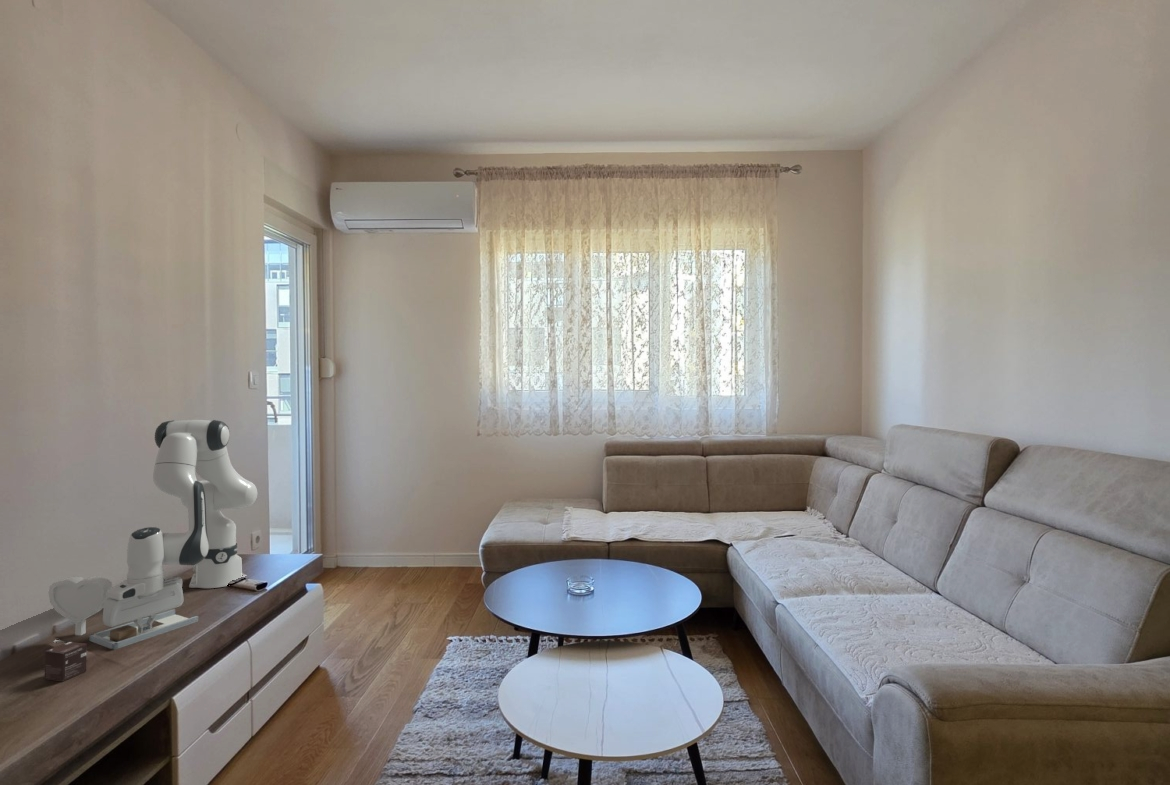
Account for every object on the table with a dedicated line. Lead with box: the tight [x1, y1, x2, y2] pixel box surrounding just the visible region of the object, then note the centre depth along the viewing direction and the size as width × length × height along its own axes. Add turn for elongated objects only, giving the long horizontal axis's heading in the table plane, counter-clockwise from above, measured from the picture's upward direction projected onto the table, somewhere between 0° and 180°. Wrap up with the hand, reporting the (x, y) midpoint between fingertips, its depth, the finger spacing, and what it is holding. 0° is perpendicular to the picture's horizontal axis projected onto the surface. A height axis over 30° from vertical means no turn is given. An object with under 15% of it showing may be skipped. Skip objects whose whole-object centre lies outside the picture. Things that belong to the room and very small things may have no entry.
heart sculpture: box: [47, 575, 113, 644], centre depth 175 cm, size 16×5×18 cm, turn 93°
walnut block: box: [109, 625, 137, 642], centre depth 171 cm, size 4×4×4 cm
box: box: [44, 641, 87, 682], centre depth 154 cm, size 6×6×7 cm
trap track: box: [88, 608, 199, 651], centre depth 178 cm, size 23×13×3 cm, turn 154°
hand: (144, 630), depth 176 cm, fingers closed
